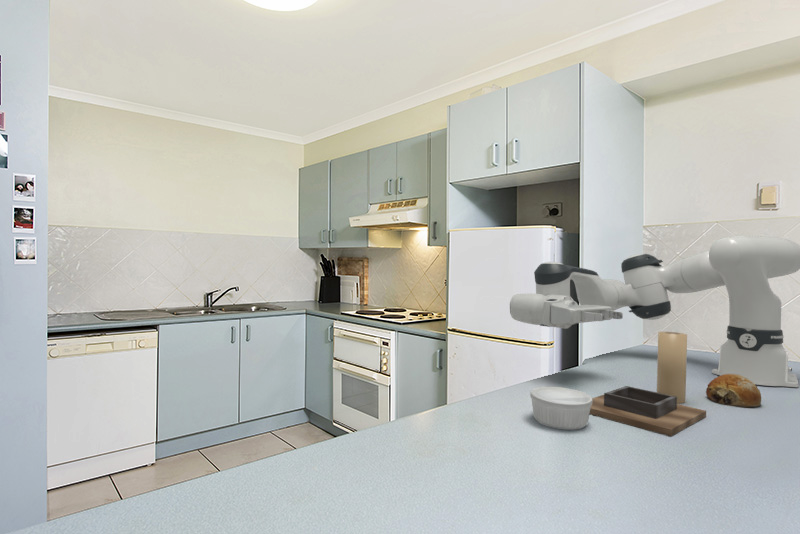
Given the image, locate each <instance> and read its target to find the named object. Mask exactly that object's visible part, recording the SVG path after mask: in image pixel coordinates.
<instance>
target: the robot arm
mask: <svg viewBox="0 0 800 534" xmlns="http://www.w3.org/2000/svg"><path fill="white" fill-rule="evenodd" d="M709 248H710V249H709V250H706V251H702V252H700V253H697V254H694V255H690V256H688V257H685V258H682V259H680V260H677V261H676V262H673V263H671V264H667V265H662V264H661V263H663V262H664V261H663V260H662V259H658V258H657V257H655V256H654V255H652V254H648V253H635V254H633V255H630V256H629V257H627V258H625V259H624V260H622V262H621V263H620V264H621V273H622V274H623V279H624V281H621V280H617V279H608V278H606V279H605V278H603V279H602V278H601V277H600V275H599V274H598V272H596V271H594V270H592V269H588V268H583V267H579V266H578V267H577V266H572V265H567V264H564V263H562V262H558V261H547V262H543V263H541V264H539V265H538V266H537V268H536V269H535V270H534V272H533V273H534V282H535V293H532V292H531V293H518V294H514V295H512V297H511V298H510V302H509V314H510V316H511V318H512V319H513V320H515V321H516V322H520V323H523V324H529V325H535V326H540V327H547V328H548V327H549V328H556V329H557V328H558V329H565V330H566V329H567V330H568V329H569V328H571V327H572V325H576V324H584V323H590V322H591V323H592V322H593V323H594V322H604V321H610V320H612V319H613V320H622V319H623V316H624V314H623V312H622V311H618V310H619V309H622V308H624V307H625V308H626V307H628V308H629V309H630V310H628V312H629V313H632V314H634V315H635V316H636V317H638V318H640V319H642V320H649V321H650V320H652V321H653V320H655V321H656V320H659V319H662V318H663V317H666V315H668V314H670V312H671V309H672V306H671V305H672V304H671V301H670V299H669V295H668V291H669V292H670V293H672V294H690V293H691V294H692V293H697V292H702V291H706V290H710V289H715V288H718V287H719V288H720V287H722V286H724V287H726V290H727V291H726V292H727V294H728V302H729V317H728V318H729V325H728V326H727V327H726V328H727V329H726V338H727V341H726V342H724V343H722V344H721V345H720V347H719V348H720V349H719V356H718V357H719V358H718V368H712V371H711V372H712V374H714V375H718V376H721V375H724V374H737V375H741V376H743V377H745V378H747V379H749V380H750V381H752V382H753V383H754V384H755V385H756V386H766V387H767V386H768V387H769V386H770V387H787V388H799V387H800V385H799V381H798V376H797V374H796V373H792V371H793V369H792V367H791V366H789V353H788V352H787V351H786V350H785V348H784V346H783V343H784V333H783V330H782V329H781V328H782V300H781V299H780V297H779V296H778V295H777V294H776V293H774V291H773V289H772V288H771V286H770V283H769V279H773V278H778V277H783V276H789V275H792V274H795V273H797V272H798V271H799V270H800V244H798V242H796V241H792V240H789V239H786V238H783V237H779V236H778V237H776V236H759V235H742V234H741V235H740V234H737V235H736V234H735V235H731V236H727V237H726V236H725V237H723V238H719V239H717V240H716V241H715V242H713V243H712V245H711V246H710V247H709ZM571 280H572V282H574V283H573V284H574V287H575V292H576V296H577V301H578V302H579V304H580V305H579V304H578V302H577V301H575V300H574V299H573V298H572V296H571Z"/></svg>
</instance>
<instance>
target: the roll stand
mask: <svg viewBox="0 0 800 534" xmlns="http://www.w3.org/2000/svg"><path fill="white" fill-rule="evenodd" d="M592 400H593V401H592V405H591V408H590V413H589V415H592V416H596V417H600V418H604V419H607V420H611V421H614V422H618V423H621V424H625V425H627V426H630V427H631V426H632V427H636V428H640V429H643V430H646V431H650V432H653V433H656V434H660V435H665V436H668V437H673V436H675V435H676V434H677V433H680V432H682V431H683V430H685V429H687V428H689V427H690V426H692V425H694V424H696V423H698V422H700V421H701V420H703V419H704V418H706V417H707V410H705V409H702V408H701V409H700V408H697V407H692V406H687V405H684V404H677V397H676V396H671V395H666V394H662V393H657V391H651V390H648V389H647V390H646V389H642V388H638V387H634V386H629V385H625V386H622V387H619V388H615V389H613V390H610V391H607V392H604V394H601V395H599V396H596V397H592Z"/></svg>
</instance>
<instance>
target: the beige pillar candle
mask: <svg viewBox="0 0 800 534" xmlns="http://www.w3.org/2000/svg"><path fill="white" fill-rule="evenodd" d="M657 336H658V337H657V362H656V363H657V369H656V373H657V374H656V392H657V393H662V394H666V395H671V396H676V397H677V404H679V405H683V404H685V403H686V396H687V394H686V392H687V391H686V390H687V355H688V354H687V353H688V334H687V333H683V332H677V331H658V332H657Z"/></svg>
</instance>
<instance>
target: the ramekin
mask: <svg viewBox="0 0 800 534" xmlns="http://www.w3.org/2000/svg"><path fill="white" fill-rule="evenodd" d="M529 393H530V398H531V404H532V411H533V412H532V413H533V416H534V418H535V420H536V421H537V422H538V423H539V424H541V425H542V426H544V427H545V426H546V427H549V428H552V429H557V430H562V431H563V430H564V431H575V430H581V429H584V428H585V427H586V426H587V425H588V423H589V418H590V414H589V413H590V408H591V405H592V401H593V400H592V398H593V397H592V396H591V395H589V394H588V393H587V392H584V391H580V390H576V389H573V388H572V389H571V388H568V387H561V386H559V387H557V386H541V387H535V388H533V389H532V390H531V391H530V392H529Z"/></svg>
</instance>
